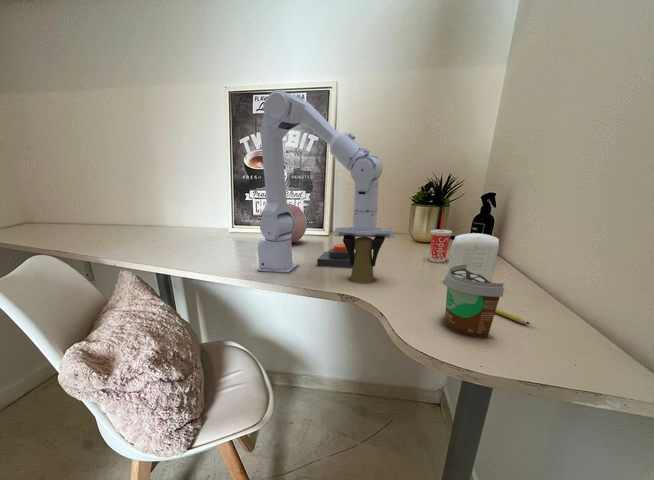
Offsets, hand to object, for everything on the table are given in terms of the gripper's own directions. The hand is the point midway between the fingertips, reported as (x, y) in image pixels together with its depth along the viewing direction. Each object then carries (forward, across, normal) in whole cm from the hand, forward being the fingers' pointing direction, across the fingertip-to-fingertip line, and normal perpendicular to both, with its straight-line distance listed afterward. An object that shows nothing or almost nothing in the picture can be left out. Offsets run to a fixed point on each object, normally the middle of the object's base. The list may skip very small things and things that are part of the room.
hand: (362, 264), depth 87 cm
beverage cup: (+4, +20, +24) cm, 32 cm away
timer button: (0, -9, +15) cm, 17 cm away
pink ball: (+4, -35, +40) cm, 53 cm away
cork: (+4, 0, 0) cm, 4 cm away
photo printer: (+4, +26, +2) cm, 26 cm away
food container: (+4, +21, -24) cm, 32 cm away
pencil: (+4, +29, -16) cm, 33 cm away
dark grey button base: (+4, -9, +15) cm, 18 cm away
